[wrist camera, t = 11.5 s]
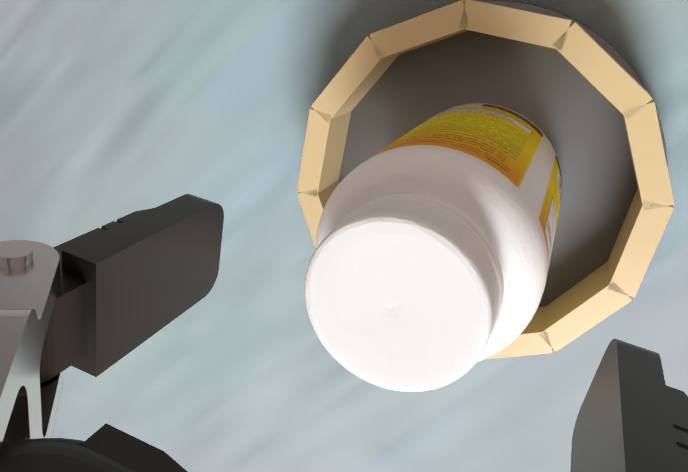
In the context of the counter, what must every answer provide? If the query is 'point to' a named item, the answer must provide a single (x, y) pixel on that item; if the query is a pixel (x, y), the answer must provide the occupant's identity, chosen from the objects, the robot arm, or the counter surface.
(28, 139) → the counter surface
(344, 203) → the supplement bottle
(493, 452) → the counter surface
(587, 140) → the tan faceted ring
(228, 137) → the counter surface
